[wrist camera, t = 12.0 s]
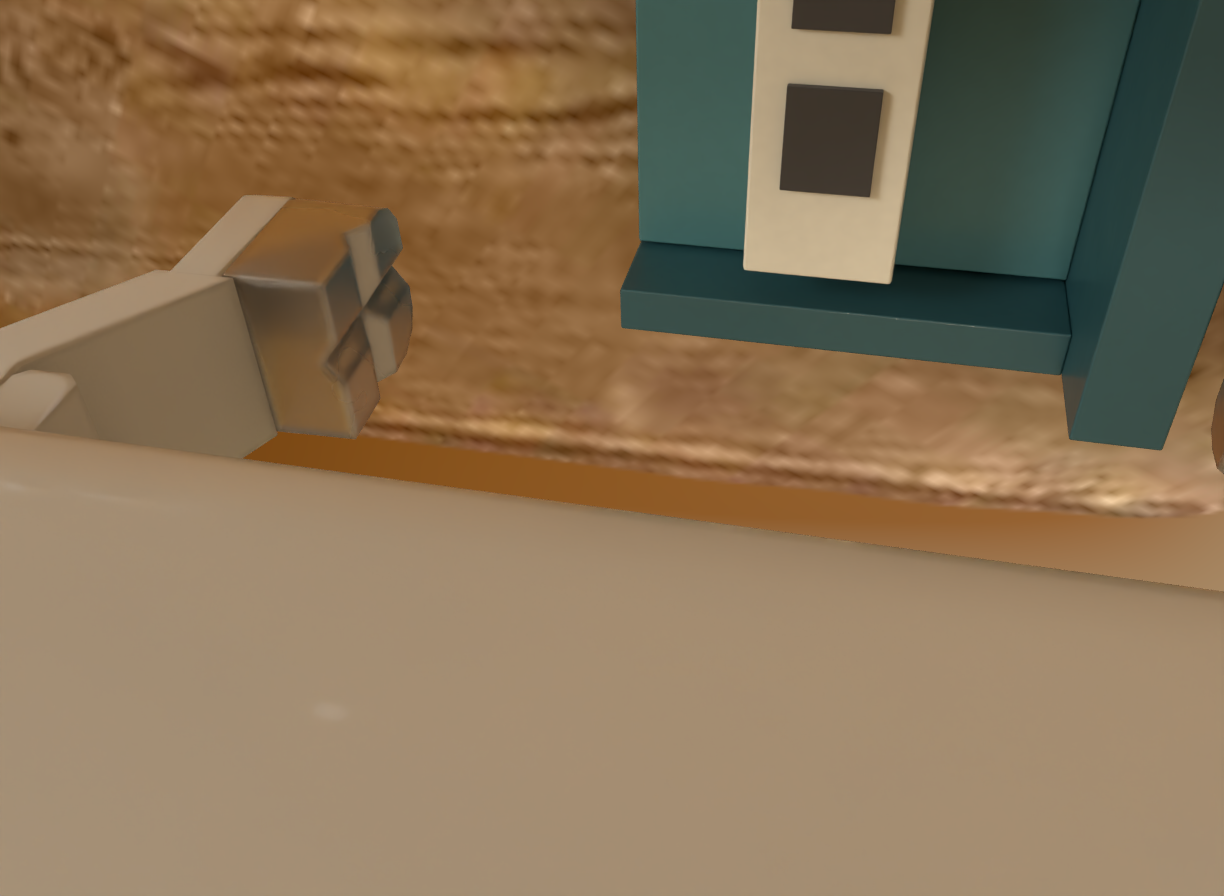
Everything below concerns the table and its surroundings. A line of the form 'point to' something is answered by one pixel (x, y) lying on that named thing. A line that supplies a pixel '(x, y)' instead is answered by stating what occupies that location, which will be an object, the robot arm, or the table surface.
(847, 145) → the remote
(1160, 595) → the robot arm
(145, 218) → the table surface
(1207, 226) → the teal armchair
